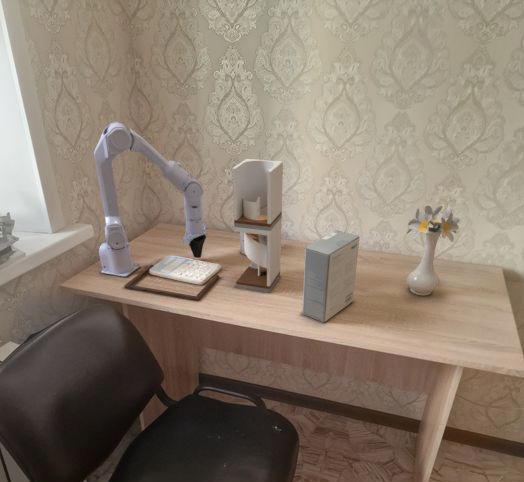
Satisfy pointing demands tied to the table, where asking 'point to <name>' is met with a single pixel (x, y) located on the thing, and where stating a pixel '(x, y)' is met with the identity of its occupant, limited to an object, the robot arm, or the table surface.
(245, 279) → the white shelf tower
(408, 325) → the table surface
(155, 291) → the tray
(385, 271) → the table surface
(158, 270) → the calculator
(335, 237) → the hard drive box
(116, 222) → the robot arm
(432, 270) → the flower vase
